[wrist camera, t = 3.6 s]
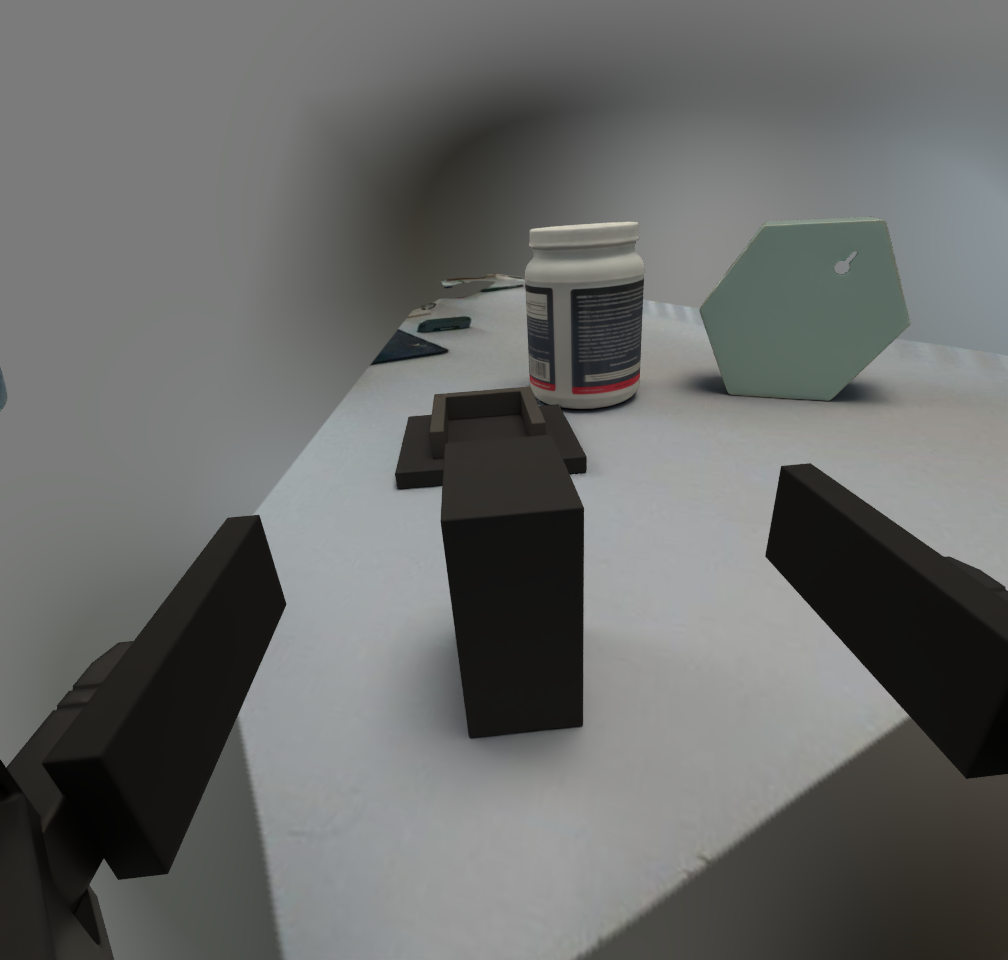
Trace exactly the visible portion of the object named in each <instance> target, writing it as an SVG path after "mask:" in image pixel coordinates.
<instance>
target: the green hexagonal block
mask: <svg viewBox="0 0 1008 960" xmlns="http://www.w3.org/2000/svg"><path fill="white" fill-rule="evenodd" d="M854 251H857V255H856V256H855V257H854V258H853V259H852V261H851V262H850V263H849V265H850V268H849V271H848V272H846V273H844V274H838V273H836V272H835V270H834V266H835V264H836V263H837V262H838V261H845V260H846V259H847V258H848V257H849V256H850V255H851V254H852V252H854ZM700 314H701V317H702V320H703V323H704V326H705V329H706V332H707V334H708V337H709V340H710V343H711V346H712V349H713V352H714V355H715V358H716V361H717V364H718V367H719V370H720V373H721V375H722V378H723V381H724V384H725V387H726V390H727V392H728V393H729V394H731V395H742V396H757V397H773V398H789V399H805V400H821V401H830V400H831V399H833V398H834V397H835V396H836V395H837V394H838V393H839V392H840V391H841V390H842V389H843V388H844V387H845V386H846V385H847V384H848V383H850V382H851V381H852V380H853V379H854V378H855V377H856V376H857V375H858V374H859V373H860V372H861V371H862V370H863V369H864V368H865V367H866V366H867V365H868V364H869V363H871V362H872V361H873V360H874V359H875V358H876V357H877V356H878V355H879V354H880V353H881V352H882V351H883V350H884V349H885V348H886V347H887V346H888V345H889V344H891V343H892V342H893V341H894V340H895V339H896V338H897V337H898V336H899V335H900V334H901V333H902V332H903V331H904V330H905V329H906V328H907V327H908V326H909V325H910V319H909V315H908V310H907V306H906V302H905V298H904V294H903V289H902V285H901V281H900V277H899V273H898V268H897V264H896V260H895V256H894V252H893V247H892V243H891V239H890V235H889V231H888V227H887V223H886V221H885V220H883V219H879V218H875V217H854V218H833V219H814V220H793V221H776V222H775V221H774V222H765V223H764V224H763V225H762V227H761V228H760V229H759V230H758V232H757V233H756V234H755V236H754V237H753V238H752V239H751V241H750V242H749V243H748V245H747V246H746V248H745V249H744V250H743V251H742V252H741V254H740V255H739V256H738V258H737V259H736V261H735V262H734V263H733V264H732V266H731V267H730V268H729V269H728V271H727V272H726V273H725V275H724V276H723V277H722V278H721V280H720V281H719V282H718V284H717V285H716V286H715V288H714V289H713V290H712V292H711V293H710V294H709V296H708V297H707V298H706V300H705V301H704V303H703V305H702V306H701V308H700Z"/></svg>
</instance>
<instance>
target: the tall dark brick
mask: <svg viewBox="0 0 1008 960" xmlns="http://www.w3.org/2000/svg"><path fill="white" fill-rule="evenodd" d="M441 527H442V535H443V542H444V550H445V558H446V565H447V573H448V581H449V588H450V596H451V603H452V611H453V619H454V626H455V634H456V641H457V649H458V657H459V664H460V672H461V679H462V687H463V695H464V702H465V710H466V717H467V725H468V733H469V737H470V738H474V737H484V736H493V735H502V734H511V733H520V732H529V731H538V730H548V729H557V728H566V727H575V726H582V725H583V588H584V507H583V505H582V503H581V500H580V498H579V496H578V493H577V491H576V489H575V486H574V484H573V482H572V479H571V477H570V475H569V472H568V470H567V468H566V465H565V463H564V461H563V458H562V456H561V454H560V451H559V449H558V447H557V444H556V442H555V440H554V437H553V435H541V436H530V437H518V438H506V439H495V440H483V441H472V442H460V443H449V444H445V450H444V469H443V488H442V506H441Z"/></svg>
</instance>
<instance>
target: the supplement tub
mask: <svg viewBox="0 0 1008 960" xmlns="http://www.w3.org/2000/svg"><path fill="white" fill-rule="evenodd" d="M638 229H639V225H638V223H637V222H615V223H599V224H598V223H597V224H582V225H568V226H556V227H545V228H536V229H531V230H530V244H529V246H530V247H533V251H534V258H533V259H532V260H531V261H530V262H529V263H528V265H527V267H526V271H525V287H526V307H527V327H528V350H529V372H530V387H531V389H532V391H533V394H534V396H535V397H536V398H537V399H539V400H540V401H542V402H544V403H546V404H549V405H555V404H559V406H560V407H562V408H571V409H592V408H601V407H607V406H611V405H615V404H618V403H620V402H623V401H625V400H627V399H628V398H630V397H631V396H632V395H633V394H634V393H635V392H636V391H637V389H638V386H639V383H640V380H639V378H640V357H641V332H642V309H643V286H644V273H645V270H644V264H643V261H642V259H641V257H640V256H639V255H638V254H637V253H636V252H635V243H636V241H637V240H639V235H638V231H639V230H638Z"/></svg>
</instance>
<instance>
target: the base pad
mask: <svg viewBox="0 0 1008 960" xmlns="http://www.w3.org/2000/svg"><path fill="white" fill-rule="evenodd" d="M541 435H553V437H554V440H555V442H556V444H557V447H558V449H559V451H560V454H561V456H562V458H563V461H564V463H565V465H566V468H567V470H568V472H569V474H572V473H583V472H586V455H585V453H584V451H583V449H582V448H581V446H580V444H579V442H578V440H577V438H576V436H575V434H574V432H573V431H572V429H571V427H570V425H569V423H568V421H567V419H566V417H565V416H564V414H563V412H562V410H561V408H560V406H559V404H555V405H543V406H538V403H537V401H536V399H535V396H534V394H533V391H532V389H531V387H520V388H508V389H495V390H483V391H471V392H459V393H447V394H435V395H434V402H433V410H432V415H424V416H412V417H409V418H408V422H407V426H406V431H405V435H404V439H403V443H402V447H401V452H400V456H399V460H398V464H397V469H396V473H395V476H396V482H397V488H398V489H404V488H416V487H427V486H438V485H443V469H444V450H445V444H449V443H460V442H472V441H483V440H495V439H506V438H518V437H530V436H541Z"/></svg>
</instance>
